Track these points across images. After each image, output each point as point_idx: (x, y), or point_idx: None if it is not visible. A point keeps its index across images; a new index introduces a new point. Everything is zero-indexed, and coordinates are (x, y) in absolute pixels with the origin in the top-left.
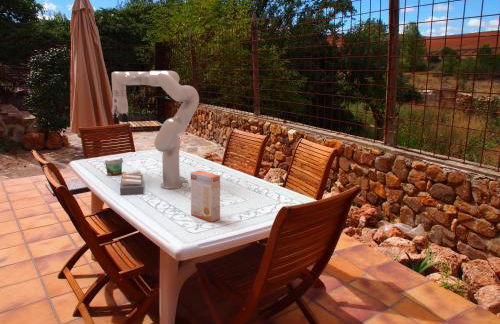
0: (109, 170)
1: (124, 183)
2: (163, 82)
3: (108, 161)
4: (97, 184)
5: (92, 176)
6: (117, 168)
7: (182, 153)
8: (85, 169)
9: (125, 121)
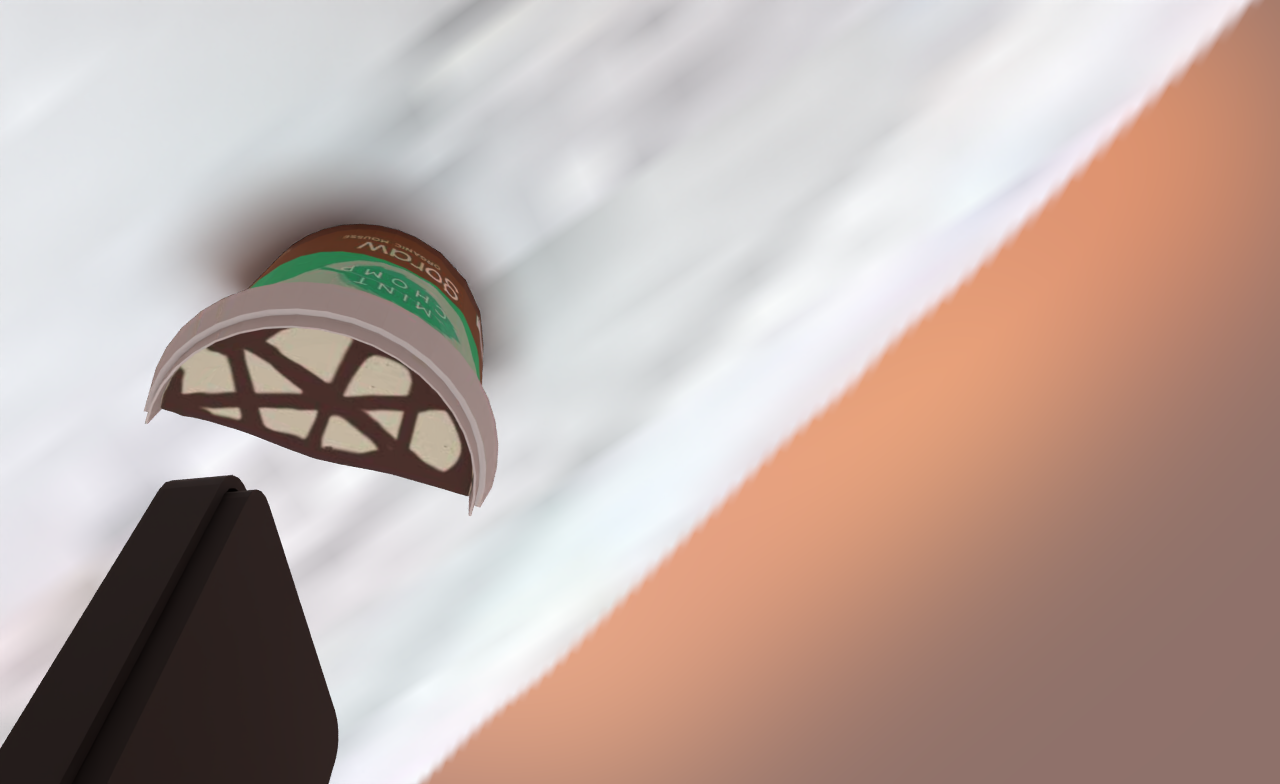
0: (479, 363)
1: None
2: None
3: (474, 446)
4: (971, 191)
5: (612, 503)
6: (393, 278)
7: None
8: (355, 761)
9: (275, 583)
